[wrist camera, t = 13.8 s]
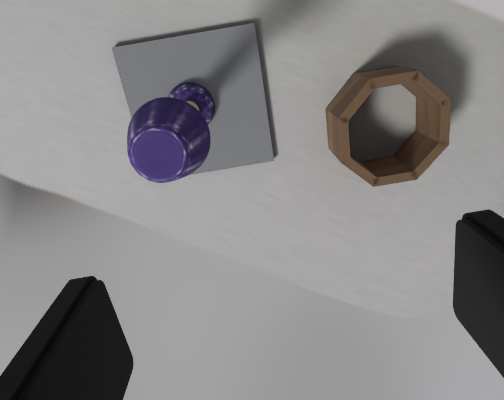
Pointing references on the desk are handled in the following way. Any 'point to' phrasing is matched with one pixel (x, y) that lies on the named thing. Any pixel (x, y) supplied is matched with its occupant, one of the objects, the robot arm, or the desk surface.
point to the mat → (207, 87)
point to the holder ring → (415, 148)
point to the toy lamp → (171, 134)
